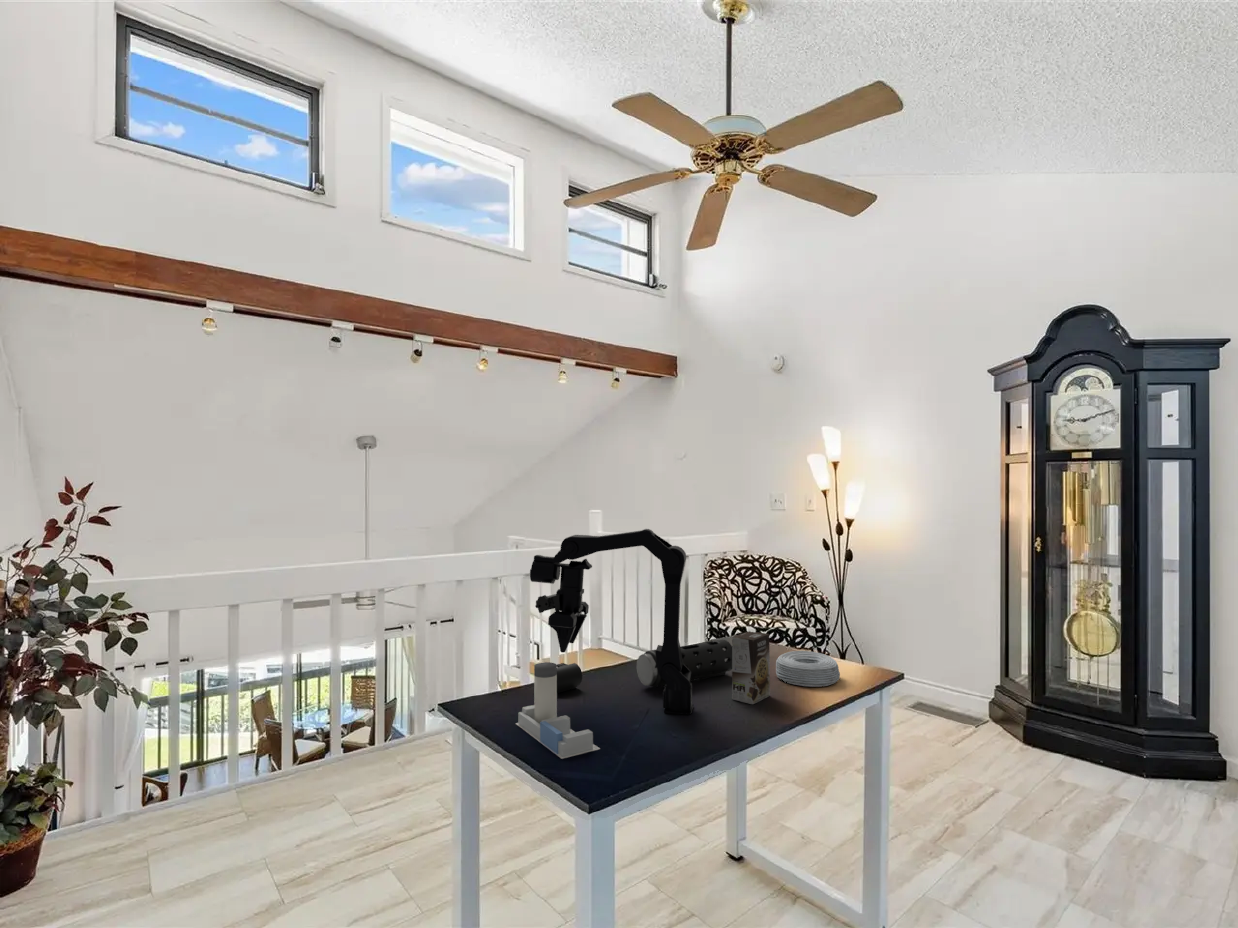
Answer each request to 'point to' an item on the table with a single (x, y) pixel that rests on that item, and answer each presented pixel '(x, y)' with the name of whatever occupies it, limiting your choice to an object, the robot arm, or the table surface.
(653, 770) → the table surface
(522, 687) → the table surface
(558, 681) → the black piece
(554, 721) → the white slotted stand
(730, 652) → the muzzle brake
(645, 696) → the table surface
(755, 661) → the cookie box
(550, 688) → the white capped cylinder
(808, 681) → the cable
